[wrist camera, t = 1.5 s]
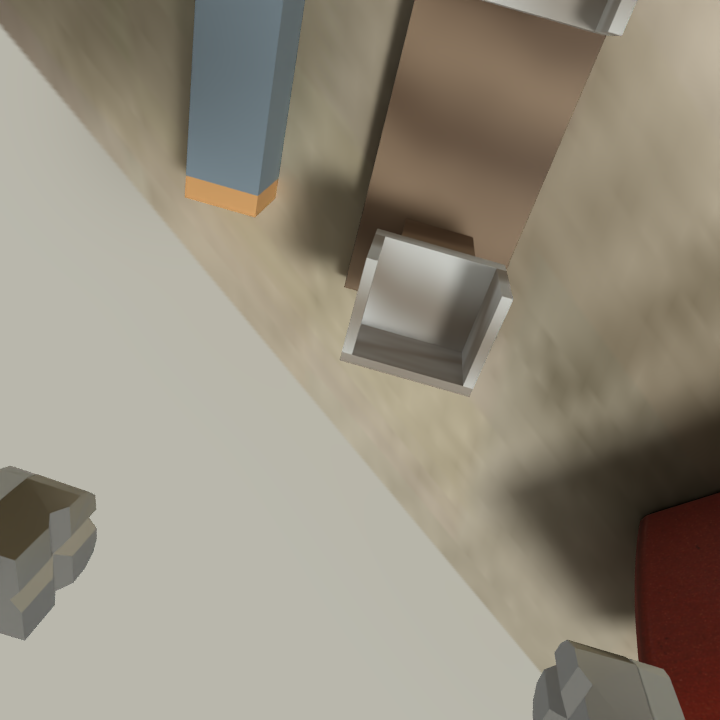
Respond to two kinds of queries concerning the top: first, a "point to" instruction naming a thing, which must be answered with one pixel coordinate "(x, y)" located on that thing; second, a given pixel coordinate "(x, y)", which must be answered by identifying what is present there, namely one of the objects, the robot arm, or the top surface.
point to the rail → (240, 100)
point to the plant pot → (682, 601)
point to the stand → (463, 176)
